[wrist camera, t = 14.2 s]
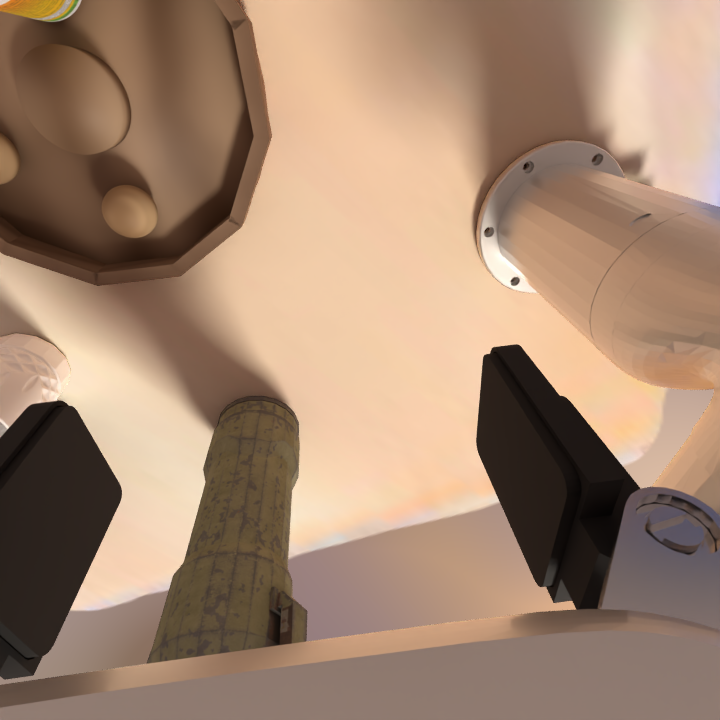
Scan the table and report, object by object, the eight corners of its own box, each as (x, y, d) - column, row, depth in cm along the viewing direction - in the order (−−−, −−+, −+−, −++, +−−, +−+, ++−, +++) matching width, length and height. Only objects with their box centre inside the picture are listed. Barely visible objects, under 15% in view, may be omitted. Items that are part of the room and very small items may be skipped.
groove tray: (218, -178, 23) (205, -212, 21) (293, 250, 36) (292, 263, 34) (-235, -138, 23) (-308, -168, 20) (8, 282, 36) (-17, 299, 33)
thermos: (327, 426, 47) (348, 978, 18) (244, 473, 50) (146, 1017, 21) (277, 373, 43) (196, 988, 14) (189, 427, 46) (-34, 1036, 16)
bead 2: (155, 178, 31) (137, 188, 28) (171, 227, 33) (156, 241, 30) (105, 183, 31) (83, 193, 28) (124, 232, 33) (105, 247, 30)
